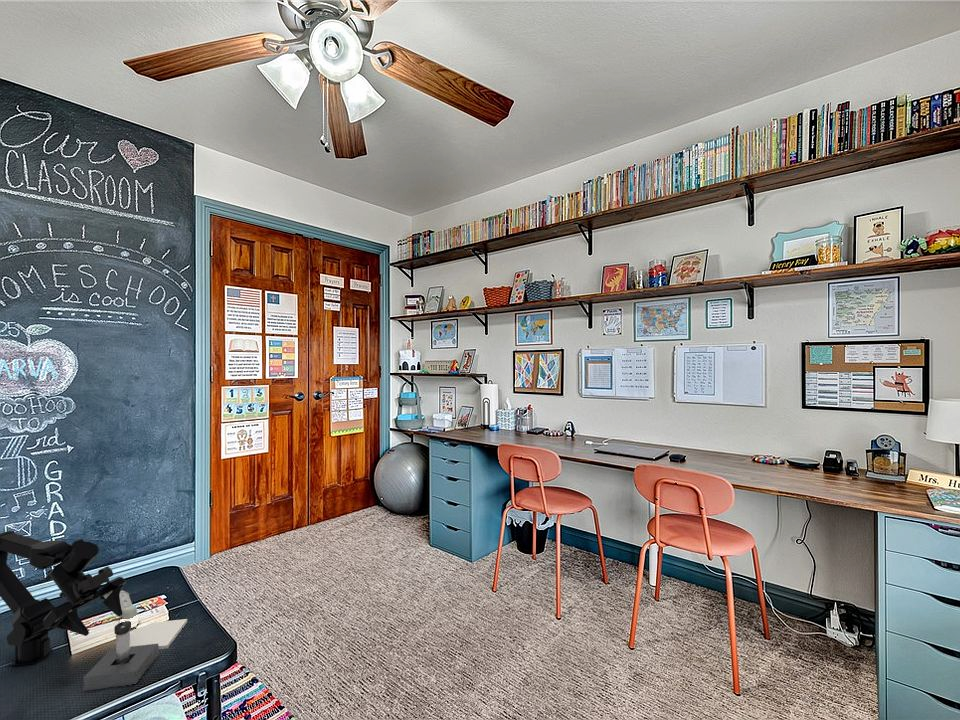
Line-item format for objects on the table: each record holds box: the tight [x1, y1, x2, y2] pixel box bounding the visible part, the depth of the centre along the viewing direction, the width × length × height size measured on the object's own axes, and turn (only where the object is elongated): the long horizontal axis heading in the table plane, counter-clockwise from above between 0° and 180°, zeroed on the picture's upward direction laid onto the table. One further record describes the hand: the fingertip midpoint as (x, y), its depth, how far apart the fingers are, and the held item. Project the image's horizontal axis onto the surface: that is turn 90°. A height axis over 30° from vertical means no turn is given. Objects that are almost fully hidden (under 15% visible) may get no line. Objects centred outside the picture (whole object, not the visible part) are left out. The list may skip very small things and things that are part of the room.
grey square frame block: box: [83, 644, 159, 692], centre depth 125 cm, size 12×12×4 cm
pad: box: [130, 618, 188, 651], centre depth 141 cm, size 14×14×1 cm
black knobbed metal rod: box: [113, 621, 132, 665], centre depth 125 cm, size 4×4×13 cm
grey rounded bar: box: [120, 589, 138, 619], centre depth 153 cm, size 5×7×25 cm
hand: (104, 624), depth 126 cm, fingers open, 9 cm apart
